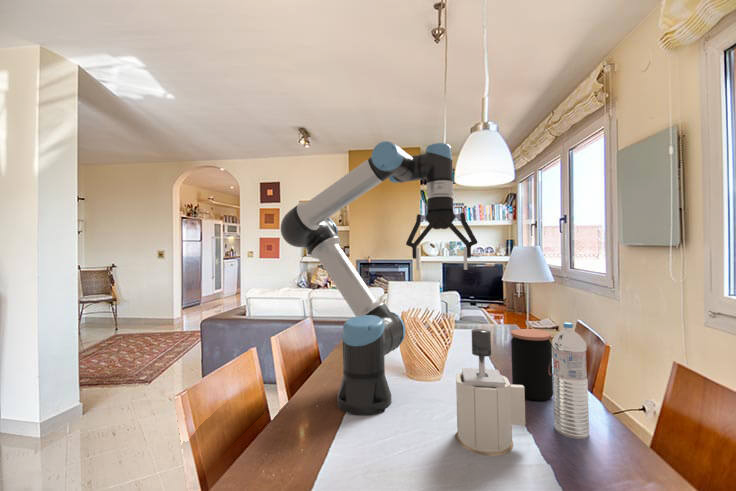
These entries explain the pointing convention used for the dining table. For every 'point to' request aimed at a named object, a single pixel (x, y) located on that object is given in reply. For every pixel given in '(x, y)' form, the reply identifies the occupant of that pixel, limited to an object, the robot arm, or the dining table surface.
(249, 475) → the dining table surface
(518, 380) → the coffee jar
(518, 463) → the dining table surface
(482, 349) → the plunger
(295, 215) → the robot arm
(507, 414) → the press carafe
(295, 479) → the dining table surface
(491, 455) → the cork trivet
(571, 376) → the water bottle
